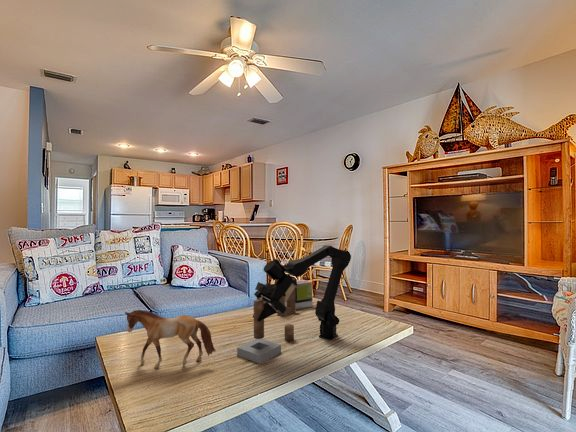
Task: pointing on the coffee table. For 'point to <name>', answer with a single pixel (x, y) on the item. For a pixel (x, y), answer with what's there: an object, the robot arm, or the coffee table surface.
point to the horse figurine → (171, 332)
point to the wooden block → (288, 301)
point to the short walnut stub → (289, 332)
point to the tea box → (302, 294)
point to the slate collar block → (259, 350)
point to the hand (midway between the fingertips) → (255, 319)
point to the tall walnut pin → (257, 311)
